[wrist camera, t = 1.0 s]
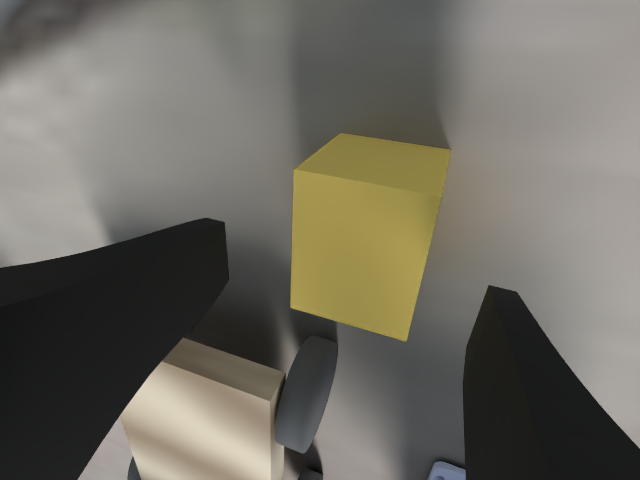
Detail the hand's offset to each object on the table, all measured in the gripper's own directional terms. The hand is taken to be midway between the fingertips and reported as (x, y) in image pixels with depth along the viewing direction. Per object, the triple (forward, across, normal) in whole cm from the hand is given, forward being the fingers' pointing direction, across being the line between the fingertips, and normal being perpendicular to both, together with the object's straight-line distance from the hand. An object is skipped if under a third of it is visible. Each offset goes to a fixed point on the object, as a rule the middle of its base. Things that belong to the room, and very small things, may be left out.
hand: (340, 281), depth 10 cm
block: (+6, 0, 0) cm, 6 cm away
